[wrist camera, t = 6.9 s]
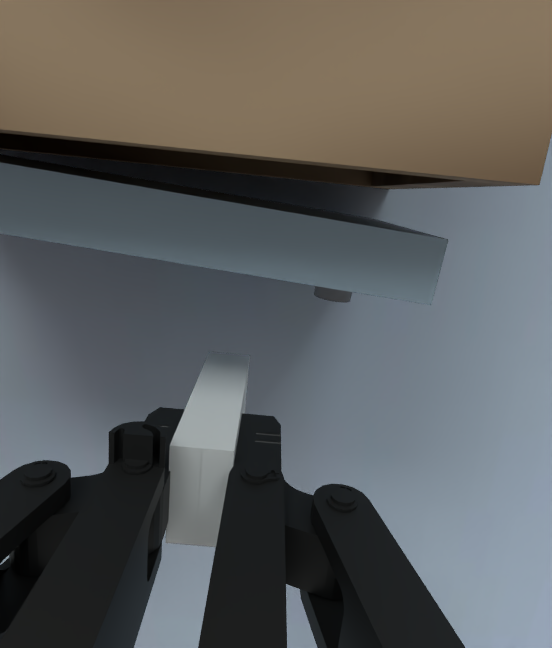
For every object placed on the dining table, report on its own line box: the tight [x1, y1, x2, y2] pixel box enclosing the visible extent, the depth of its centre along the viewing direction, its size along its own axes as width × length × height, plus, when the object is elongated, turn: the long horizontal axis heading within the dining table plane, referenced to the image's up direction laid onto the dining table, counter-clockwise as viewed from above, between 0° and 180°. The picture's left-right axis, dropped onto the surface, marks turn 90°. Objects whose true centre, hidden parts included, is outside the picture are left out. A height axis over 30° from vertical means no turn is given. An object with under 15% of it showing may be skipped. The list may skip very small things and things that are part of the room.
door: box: [0, 154, 448, 305], centre depth 15 cm, size 3×18×9 cm, turn 80°
